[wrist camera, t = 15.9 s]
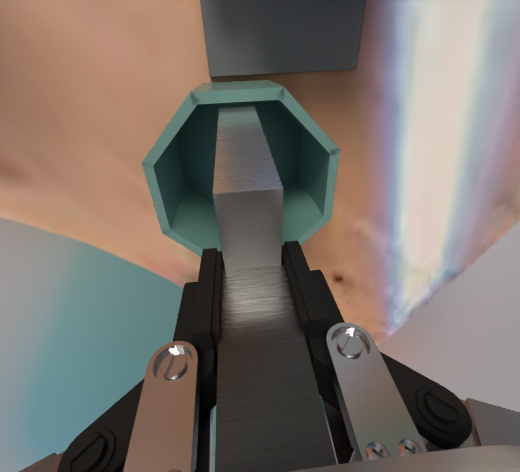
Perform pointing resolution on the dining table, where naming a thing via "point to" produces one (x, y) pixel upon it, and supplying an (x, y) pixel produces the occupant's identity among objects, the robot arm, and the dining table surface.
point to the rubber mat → (281, 35)
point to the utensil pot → (203, 163)
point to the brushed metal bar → (259, 318)
